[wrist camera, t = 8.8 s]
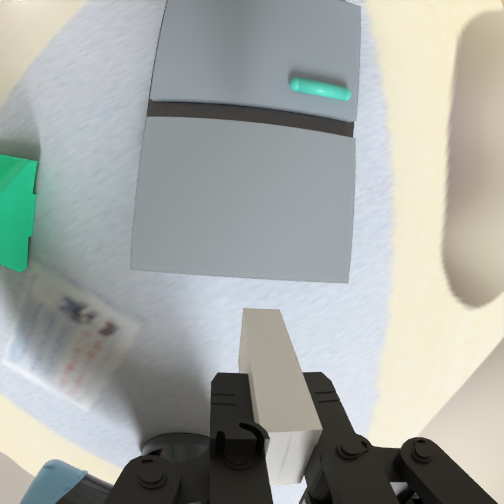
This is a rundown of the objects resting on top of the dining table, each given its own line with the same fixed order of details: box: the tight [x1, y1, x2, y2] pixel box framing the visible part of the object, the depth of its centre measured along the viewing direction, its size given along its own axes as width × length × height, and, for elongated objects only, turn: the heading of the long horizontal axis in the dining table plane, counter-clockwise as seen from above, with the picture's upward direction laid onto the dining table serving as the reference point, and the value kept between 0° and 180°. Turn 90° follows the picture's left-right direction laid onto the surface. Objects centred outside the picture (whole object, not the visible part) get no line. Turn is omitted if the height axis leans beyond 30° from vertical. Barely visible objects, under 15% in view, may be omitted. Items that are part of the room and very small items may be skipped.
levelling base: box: [147, 0, 354, 138], centre depth 26 cm, size 28×18×3 cm, turn 174°
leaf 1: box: [150, 0, 361, 122], centre depth 21 cm, size 12×17×3 cm
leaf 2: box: [131, 117, 355, 283], centre depth 24 cm, size 12×17×2 cm
